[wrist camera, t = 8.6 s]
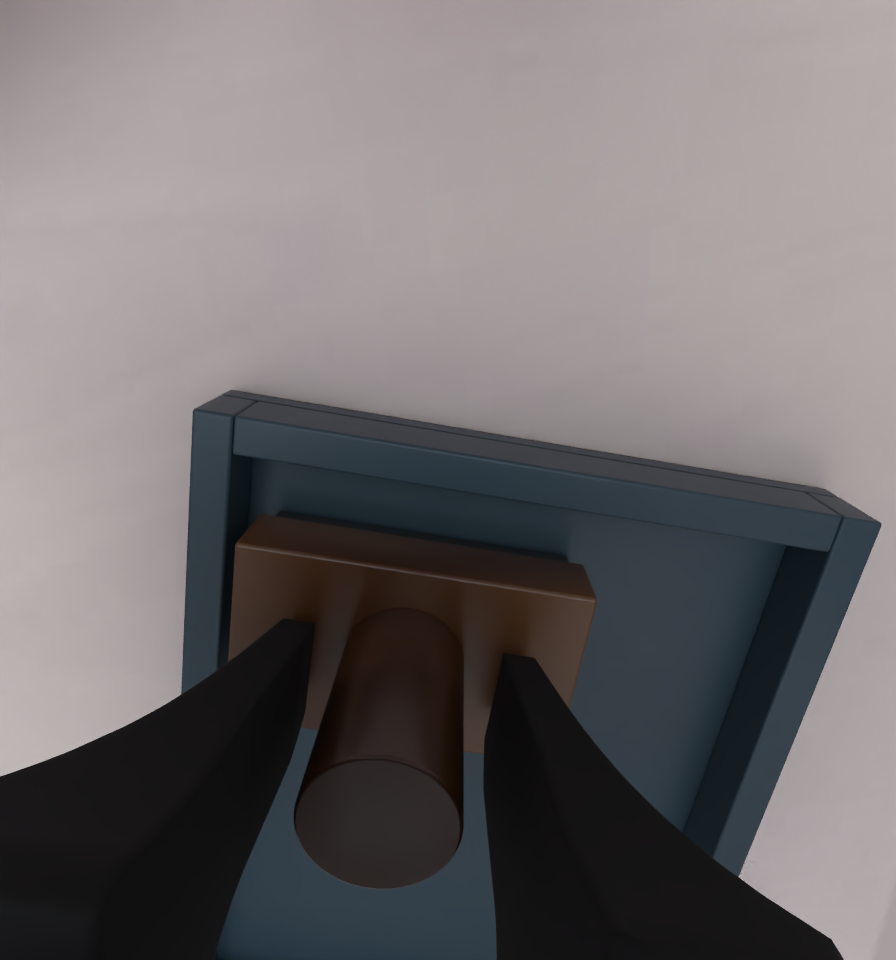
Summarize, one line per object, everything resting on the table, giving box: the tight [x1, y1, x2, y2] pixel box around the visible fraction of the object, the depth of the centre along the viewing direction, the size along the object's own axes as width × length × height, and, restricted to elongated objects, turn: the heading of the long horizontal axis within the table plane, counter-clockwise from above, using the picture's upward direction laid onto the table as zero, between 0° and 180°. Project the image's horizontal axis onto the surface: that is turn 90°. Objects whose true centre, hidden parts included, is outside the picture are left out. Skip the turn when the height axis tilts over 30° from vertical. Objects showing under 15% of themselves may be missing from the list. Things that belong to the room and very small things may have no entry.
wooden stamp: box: [228, 511, 597, 889], centre depth 12 cm, size 7×4×6 cm, turn 81°
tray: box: [181, 390, 881, 960], centre depth 16 cm, size 14×18×2 cm
